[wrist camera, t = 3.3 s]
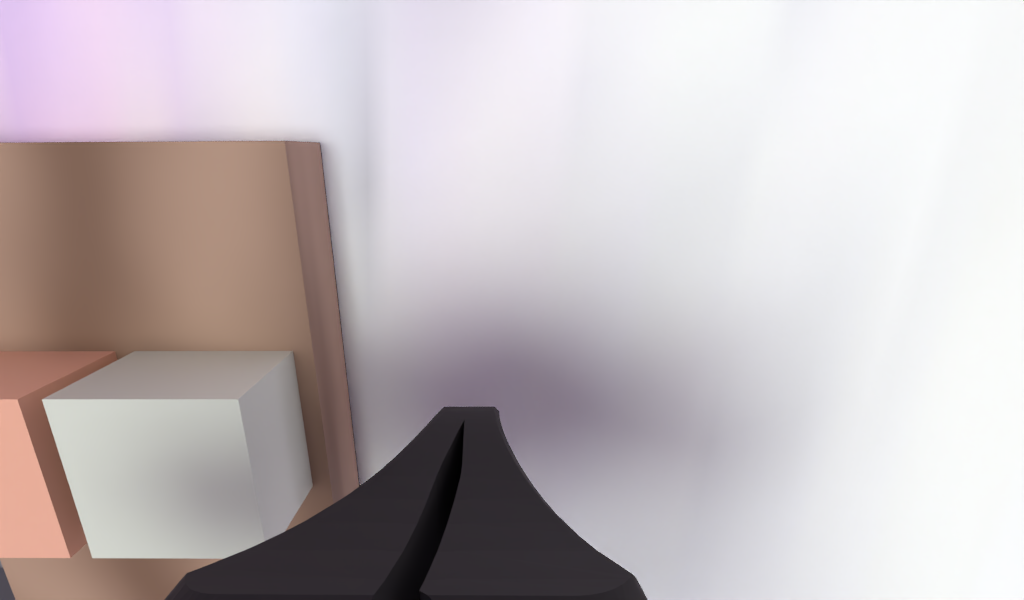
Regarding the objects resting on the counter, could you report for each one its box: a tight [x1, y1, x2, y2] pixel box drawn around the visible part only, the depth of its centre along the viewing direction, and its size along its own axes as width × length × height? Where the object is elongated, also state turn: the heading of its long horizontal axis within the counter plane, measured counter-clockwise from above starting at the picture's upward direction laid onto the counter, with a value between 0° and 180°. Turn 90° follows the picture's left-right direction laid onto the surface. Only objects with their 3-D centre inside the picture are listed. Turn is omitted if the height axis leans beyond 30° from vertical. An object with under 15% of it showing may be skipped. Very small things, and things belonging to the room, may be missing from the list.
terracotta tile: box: [0, 351, 117, 558], centre depth 12 cm, size 4×4×2 cm
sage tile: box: [42, 351, 313, 559], centre depth 12 cm, size 4×4×2 cm
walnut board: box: [0, 141, 359, 600], centre depth 14 cm, size 10×14×2 cm
